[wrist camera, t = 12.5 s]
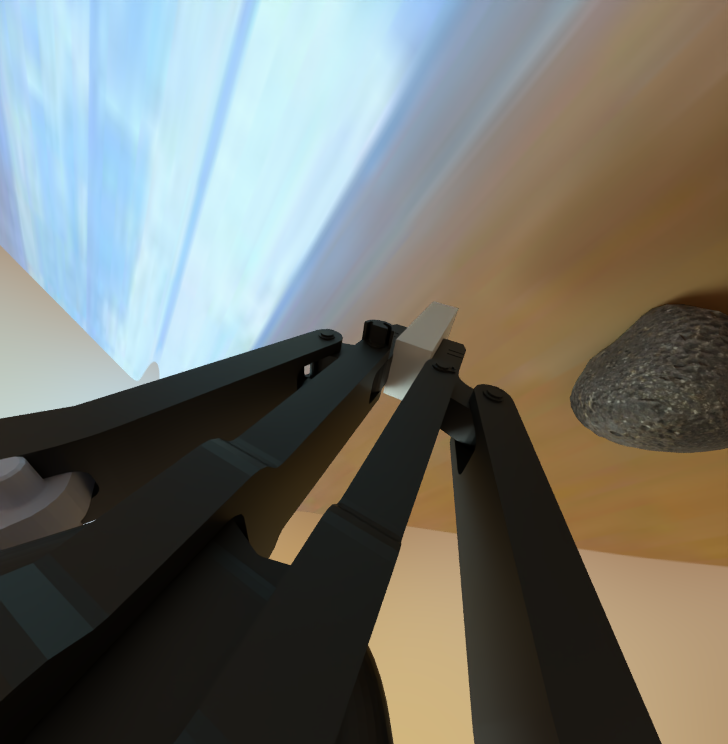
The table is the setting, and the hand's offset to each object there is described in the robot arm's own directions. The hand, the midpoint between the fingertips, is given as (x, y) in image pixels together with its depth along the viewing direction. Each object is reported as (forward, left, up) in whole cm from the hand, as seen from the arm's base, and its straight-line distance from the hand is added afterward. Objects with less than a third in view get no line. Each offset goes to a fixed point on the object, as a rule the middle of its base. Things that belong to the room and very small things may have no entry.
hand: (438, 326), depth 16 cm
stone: (+2, +15, -8) cm, 17 cm away
